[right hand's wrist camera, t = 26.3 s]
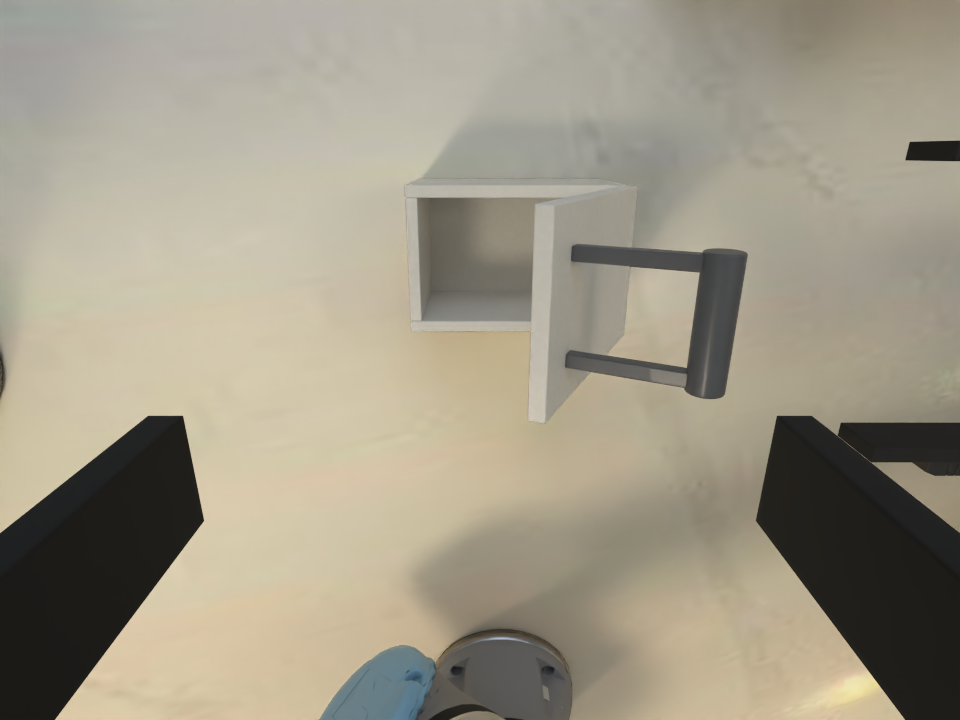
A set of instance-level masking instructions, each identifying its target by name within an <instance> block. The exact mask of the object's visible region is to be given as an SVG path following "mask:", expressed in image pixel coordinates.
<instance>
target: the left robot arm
mask: <svg viewBox="0 0 960 720" xmlns="http://www.w3.org/2000/svg"><path fill="white" fill-rule="evenodd" d="M906 160H921V161H960V141H929V142H910V144H909V148H908V152H907V156H906ZM838 436H839V437H840V438H841V439H843V440H844V441H845V442H846V443H848V444H849V445H850V446H852V447H853V448H854V449H855V450H857V451H858V452H859V453H860V454H862V455H863V456H864V457H865V458H867V459H868V460H869V461H871V462H913V463H914V464H915V465H917V466H918V467H920V468H921V469H922V470H924V471H925V472H927V473H930V474H932V475H935V476H946V475H947V476H954V475H956V476H960V423H841V425H840V429H839V433H838ZM571 706H572V683H571V677H570V672H569V668H568V666H567V663H566V661H565V660H564V658H563V657H562V655H561V654H560V653H559V652H558V651H557V650H556V649H555V648H554V647H553V646H552V645H550V644H549V643H548V642H546V641H544V640H543V639H541V638H539V637H536V636H534V635H531V634H528V633H525V632H520V631H514V630H490V631H484V632H479V633H476V634H473V635H470V636H467V637H465V638H463V639H461V640H459V641H458V642H456V643H454V644H453V645H452V646H450V647H449V648H448V649H447V650H446V651H445V652H444V653H443V654H442V655H441V657H440V658H439V659H438V661H437V663H436V665H435V662H434V661H433V660H432V659H431V658H427V657H426V656H425V655H424V654H422V653H421V652H420V651H419V650H417V649H416V648H414V647H411V646H396V647H392V648H390V649H387V650H385V651H383V652H381V653H379V654H378V655H377V656H375V657H374V658H373V659H371V660H370V661H368V662H367V663H365V664H364V665H363V666H362V667H361V668H360V669H358V670H357V671H356V672H355V673H354V674H353V675H352V676H351V677H350V678H349V679H348V681H347V682H346V683H345V684H344V685H343V686H342V688H341V689H340V690H339V691H338V693H337V694H336V695H335V696H334V698H333V699H332V701H331V702H330V703H329V705H328V706H327V708H326V710H325V711H324V713H323V714H322V716H321V718H320V719H319V720H569V717H570V712H571Z"/></svg>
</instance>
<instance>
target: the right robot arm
mask: <svg viewBox="0 0 960 720" xmlns="http://www.w3.org/2000/svg"><path fill="white" fill-rule="evenodd" d="M1 388H2V365H1V360H0V392H1ZM203 521H204V518H203V513H202V508H201V503H200V498H199V493H198V488H197V483H196V478H195V473H194V468H193V463H192V458H191V453H190V449H189V444H188V439H187V434H186V429H185V424H184V419H183V416H148V417H146V418H145V419H144V420H143V421H141V422H140V423H139V424H137V425H136V426H135V427H134V428H132V429H131V430H130V431H129V432H127V433H126V434H125V435H124V436H122V437H121V438H120V439H119V440H117V441H116V442H115V443H114V444H112V445H111V446H110V447H108V448H107V449H106V450H105V451H103V452H102V453H101V454H100V455H98V456H97V457H96V458H95V459H93V460H92V461H91V462H90V463H88V464H87V465H86V466H84V467H83V468H82V469H81V470H79V471H78V472H77V473H76V474H74V475H73V476H72V477H71V478H69V479H68V480H67V481H66V482H64V483H63V484H62V485H61V486H59V487H58V488H57V489H55V490H54V491H53V492H52V493H50V494H49V495H48V496H47V497H45V498H44V499H43V500H42V501H40V502H39V503H38V504H37V505H35V506H34V507H33V508H32V509H30V510H29V511H28V512H26V513H25V514H24V515H23V516H21V517H20V518H19V519H18V520H16V521H15V522H14V523H13V524H11V525H10V526H9V527H8V528H6V529H5V530H4V531H2V532H1V533H0V720H55V719H56V717H57V716H58V715H59V713H60V712H61V711H62V709H63V708H64V707H65V705H66V704H67V703H68V701H69V700H70V699H71V697H72V696H73V695H74V693H75V692H76V691H77V689H78V688H79V687H80V685H81V684H82V683H83V681H84V680H85V679H86V677H87V676H88V675H89V673H90V672H91V671H92V669H93V668H94V667H95V665H96V664H97V663H98V661H99V660H100V659H101V657H102V656H103V655H104V653H105V652H106V651H107V649H108V648H109V647H110V645H111V644H112V643H113V641H114V640H115V639H116V637H117V636H118V635H119V633H120V632H121V631H122V629H123V628H124V627H125V625H126V624H127V623H128V621H129V620H130V619H131V617H132V616H133V615H134V613H135V612H136V611H137V609H138V608H139V607H140V605H141V604H142V603H143V601H144V600H145V599H146V597H147V596H148V595H149V593H150V592H151V591H152V589H153V588H154V587H155V585H156V584H157V583H158V581H159V580H160V579H161V577H162V576H163V575H164V573H165V572H166V571H167V569H168V568H169V567H170V565H171V564H172V563H173V561H174V560H175V559H176V557H177V556H178V555H179V553H180V552H181V551H182V549H183V548H184V547H185V545H186V544H187V543H188V541H189V540H190V539H191V537H192V536H193V535H194V533H195V532H196V531H197V529H198V528H199V527H200V525H201V524H202V523H203ZM756 521H757V523H758V524H759V525H760V527H761V528H762V529H763V531H764V532H765V533H766V535H767V536H768V537H769V539H770V540H771V541H772V543H773V544H774V545H775V547H776V548H777V549H778V551H779V552H780V553H781V555H782V556H783V557H784V559H785V560H786V561H787V563H788V564H789V565H790V567H791V568H792V569H793V571H794V572H795V573H796V575H797V576H798V577H799V579H800V580H801V581H802V583H803V584H804V585H805V587H806V588H807V589H808V591H809V592H810V593H811V595H812V596H813V597H814V599H815V600H816V601H817V603H818V604H819V605H820V607H821V608H822V609H823V611H824V612H825V613H826V615H827V616H828V617H829V619H830V620H831V621H832V623H833V624H834V625H835V627H836V628H837V629H838V631H839V632H840V633H841V635H842V636H843V637H844V639H845V640H846V641H847V643H848V644H849V645H850V647H851V648H852V649H853V651H854V652H855V653H856V655H857V656H858V657H859V659H860V660H861V661H862V663H863V664H864V665H865V667H866V668H867V669H868V671H869V672H870V673H871V675H872V676H873V677H874V679H875V680H876V681H877V683H878V684H879V685H880V687H881V688H882V689H883V691H884V692H885V693H886V695H887V696H888V697H889V699H890V700H891V701H892V703H893V704H894V705H895V707H896V708H897V709H898V711H899V712H900V713H901V715H902V716H903V717H904V719H905V720H960V533H959V532H958V531H956V530H955V529H954V528H952V527H951V526H950V525H949V524H947V523H946V522H945V521H944V520H942V519H941V518H940V517H939V516H937V515H936V514H935V513H934V512H932V511H931V510H930V509H928V508H927V507H926V506H925V505H923V504H922V503H921V502H920V501H918V500H917V499H916V498H915V497H913V496H912V495H911V494H910V493H908V492H907V491H906V490H905V489H903V488H902V487H901V486H899V485H898V484H897V483H896V482H894V481H893V480H892V479H891V478H889V477H888V476H887V475H886V474H884V473H883V472H882V471H881V470H879V469H878V468H877V467H876V466H874V465H873V464H872V463H870V462H869V461H868V460H867V459H865V458H864V457H863V456H862V455H860V454H859V453H858V452H857V451H855V450H854V449H853V448H852V447H850V446H849V445H848V444H846V443H845V442H844V441H843V440H841V439H840V438H839V437H838V436H836V435H835V434H834V433H833V432H831V431H830V430H829V429H828V428H826V427H825V426H824V425H823V424H821V423H820V422H819V421H817V420H816V419H815V418H814V417H812V416H777V419H776V424H775V429H774V434H773V439H772V444H771V449H770V453H769V458H768V463H767V468H766V473H765V478H764V483H763V488H762V493H761V498H760V503H759V508H758V513H757V518H756Z"/></svg>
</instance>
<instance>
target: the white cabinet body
mask: <svg viewBox="0 0 960 720" xmlns="http://www.w3.org/2000/svg"><path fill="white" fill-rule="evenodd" d="M620 186H629V185H625V184H620V183H616V182H611V181H607V180H602V179H418V180H416V181H414V182H411V183H409V184H407V185H405V205H406V228H407V251H408V274H409V296H410V319H411V331H445V332H531V305H532V274H533V243H534V213H535V204H537V203H542V202H547V201H552V200H557V199H561V198H566V197H571V196H576V195H581V194H586V193H591V192H596V191H601V190H606V189H610V188H615V187H620Z"/></svg>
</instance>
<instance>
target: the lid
mask: <svg viewBox="0 0 960 720" xmlns="http://www.w3.org/2000/svg"><path fill="white" fill-rule="evenodd" d="M637 189H638V187H637V186H620V187H615V188H610V189H606V190H601V191H596V192H591V193H586V194H581V195H576V196H571V197H566V198H561V199H557V200H552V201H547V202H542V203H537V204H535V213H534V243H533V274H532V305H531V335H530V366H529V397H528V420H529V421H533V422H538V423H542V424H545V423H546V422H547V421H548V420H549V419H550V417H551V416H552V415H553V414H554V413H555V412H556V411H557V410H558V408H559V407H560V406H561V405H562V404H563V403H564V402H565V401H566V399H567V398H568V397H569V396H570V395H571V394H572V393H573V392H574V390H575V389H576V388H577V387H578V386H579V385H580V384H581V382H582V381H583V380H584V379H585V378H586V377H587V376H588V375H589V373H590V372H595V373H600V374H606V375H612V376H618V377H624V378H630V379H636V380H642V381H648V382H654V383H659V384H665V385H671V386H677V387H683V388H684V389H685V391H686V392H687V393H688V394H690V395H692V396H695V397H699V398H705V399H717V398H721V397H723V396H724V395H725V390H726V384H727V378H728V372H729V366H730V360H731V354H732V348H733V341H734V335H735V329H736V323H737V317H738V311H739V305H740V299H741V292H742V286H743V280H744V274H745V268H746V262H747V256H748V255H747V253H746V252H744V251H740V250H734V249H706V250H704V251H703V253H700V252H686V251H672V250H658V249H644V248H632V243H633V232H634V221H635V211H636V200H637ZM630 267H642V268H654V269H665V270H677V271H689V272H700V275H699V283H698V290H697V297H696V305H695V312H694V319H693V327H692V334H691V341H690V349H689V356H688V364H687V368H683V367H677V366H670V365H664V364H657V363H651V362H645V361H638V360H632V359H625V358H619V357H612V356H606V354H607V353H608V352H609V351H610V350H611V349H612V347H613V346H614V345H615V344H616V343H617V342H618V341H619V340H620V338H621V337H622V336H623V335H624V329H625V319H626V308H627V297H628V286H629V275H630Z"/></svg>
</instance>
